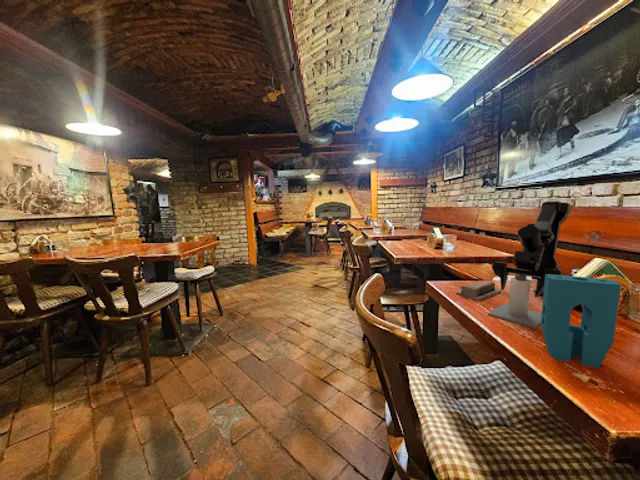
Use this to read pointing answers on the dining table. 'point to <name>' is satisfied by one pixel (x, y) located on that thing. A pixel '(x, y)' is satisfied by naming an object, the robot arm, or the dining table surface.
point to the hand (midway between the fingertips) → (518, 292)
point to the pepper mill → (519, 296)
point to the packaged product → (479, 290)
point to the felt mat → (530, 320)
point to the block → (595, 323)
